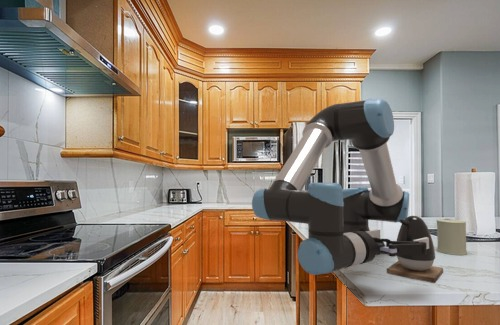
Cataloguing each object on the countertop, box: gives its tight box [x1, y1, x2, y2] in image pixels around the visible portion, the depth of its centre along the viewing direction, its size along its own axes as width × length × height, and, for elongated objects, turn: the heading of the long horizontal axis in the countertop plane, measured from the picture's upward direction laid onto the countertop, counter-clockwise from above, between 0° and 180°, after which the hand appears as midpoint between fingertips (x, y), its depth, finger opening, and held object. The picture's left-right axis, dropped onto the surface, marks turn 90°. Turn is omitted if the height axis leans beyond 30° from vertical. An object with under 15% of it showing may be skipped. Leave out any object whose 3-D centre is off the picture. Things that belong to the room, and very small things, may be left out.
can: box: [436, 218, 468, 256], centre depth 111 cm, size 9×9×12 cm
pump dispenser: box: [396, 215, 436, 271], centre depth 87 cm, size 10×10×15 cm
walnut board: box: [386, 260, 444, 284], centre depth 87 cm, size 12×12×1 cm
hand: (401, 238), depth 83 cm, fingers open, 13 cm apart
